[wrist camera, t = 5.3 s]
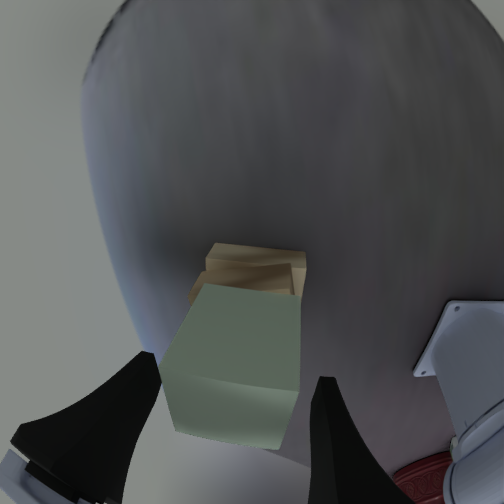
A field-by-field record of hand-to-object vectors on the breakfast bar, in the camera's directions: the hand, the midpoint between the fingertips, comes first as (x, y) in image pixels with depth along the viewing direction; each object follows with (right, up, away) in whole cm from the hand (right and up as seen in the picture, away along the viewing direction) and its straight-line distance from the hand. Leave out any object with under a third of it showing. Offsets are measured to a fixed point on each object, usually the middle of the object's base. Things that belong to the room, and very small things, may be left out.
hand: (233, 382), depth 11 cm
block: (+1, +2, +3) cm, 3 cm away
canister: (+32, -32, +20) cm, 50 cm away
